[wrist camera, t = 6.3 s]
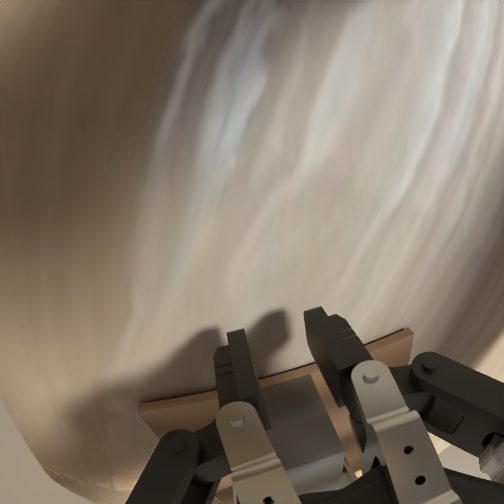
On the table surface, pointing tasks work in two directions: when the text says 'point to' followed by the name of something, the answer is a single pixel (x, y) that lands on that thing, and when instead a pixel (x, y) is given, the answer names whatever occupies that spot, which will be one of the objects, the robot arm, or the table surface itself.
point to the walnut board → (210, 404)
